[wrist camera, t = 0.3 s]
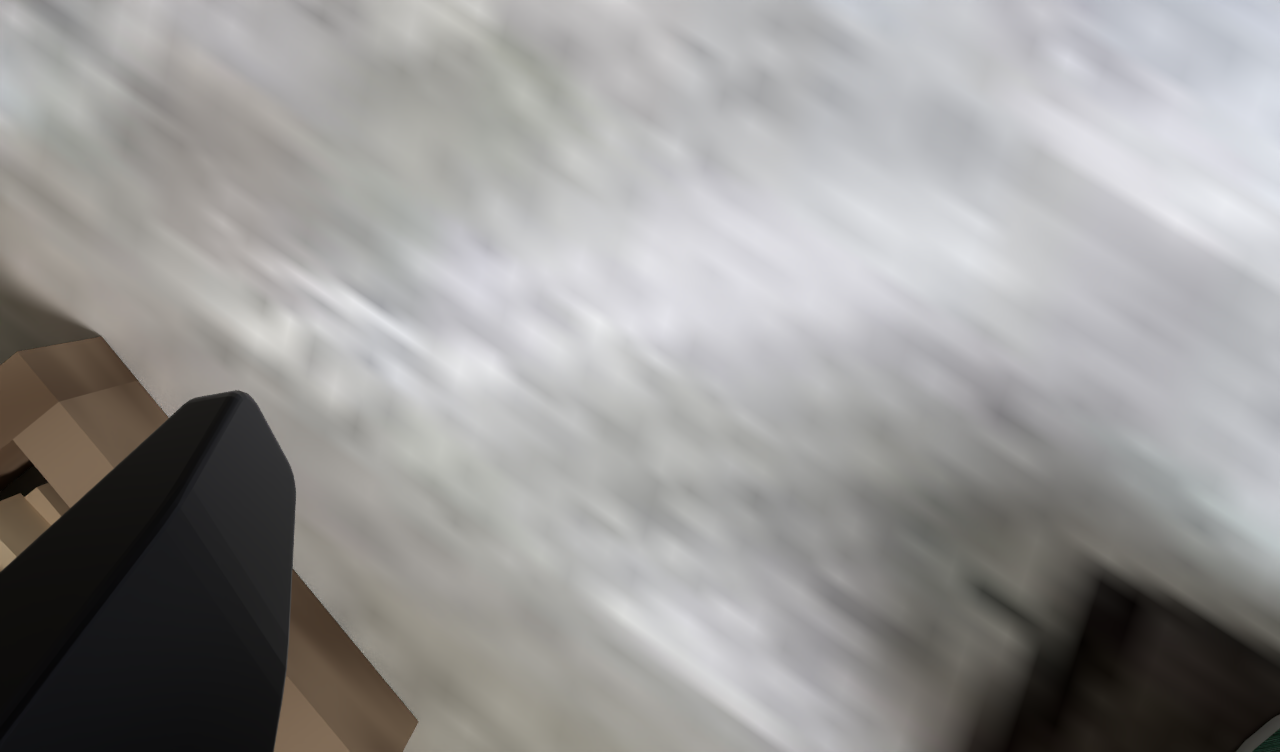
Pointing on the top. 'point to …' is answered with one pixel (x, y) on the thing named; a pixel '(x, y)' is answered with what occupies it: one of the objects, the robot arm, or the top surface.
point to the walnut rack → (104, 436)
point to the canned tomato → (1264, 738)
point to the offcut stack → (27, 520)
